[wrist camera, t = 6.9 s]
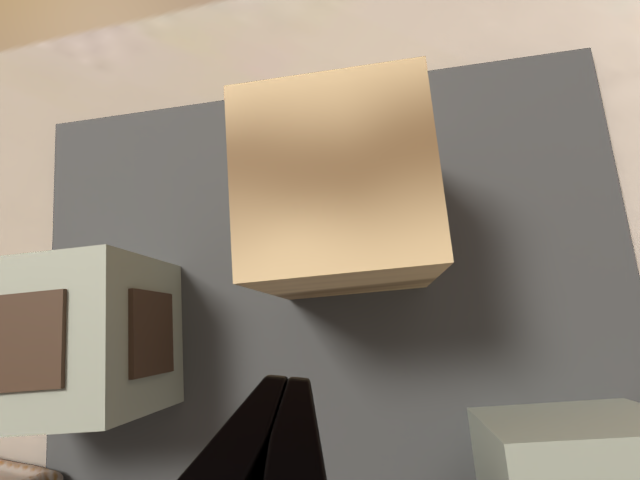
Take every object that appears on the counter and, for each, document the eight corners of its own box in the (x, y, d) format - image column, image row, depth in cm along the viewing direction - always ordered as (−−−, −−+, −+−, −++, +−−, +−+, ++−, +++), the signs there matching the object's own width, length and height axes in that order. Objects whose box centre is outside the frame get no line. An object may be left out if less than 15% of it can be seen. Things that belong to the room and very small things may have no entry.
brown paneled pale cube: (188, 401, 21) (107, 432, 15) (57, 409, 21) (-72, 443, 15) (184, 265, 22) (108, 242, 16) (61, 278, 22) (-58, 260, 16)
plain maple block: (426, 287, 20) (454, 262, 12) (289, 299, 21) (232, 284, 13) (409, 155, 21) (425, 56, 13) (280, 171, 22) (223, 85, 14)
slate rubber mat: (711, 652, 17) (721, 662, 16) (48, 655, 20) (40, 663, 19) (585, 53, 22) (590, 47, 21) (62, 128, 24) (55, 124, 24)
